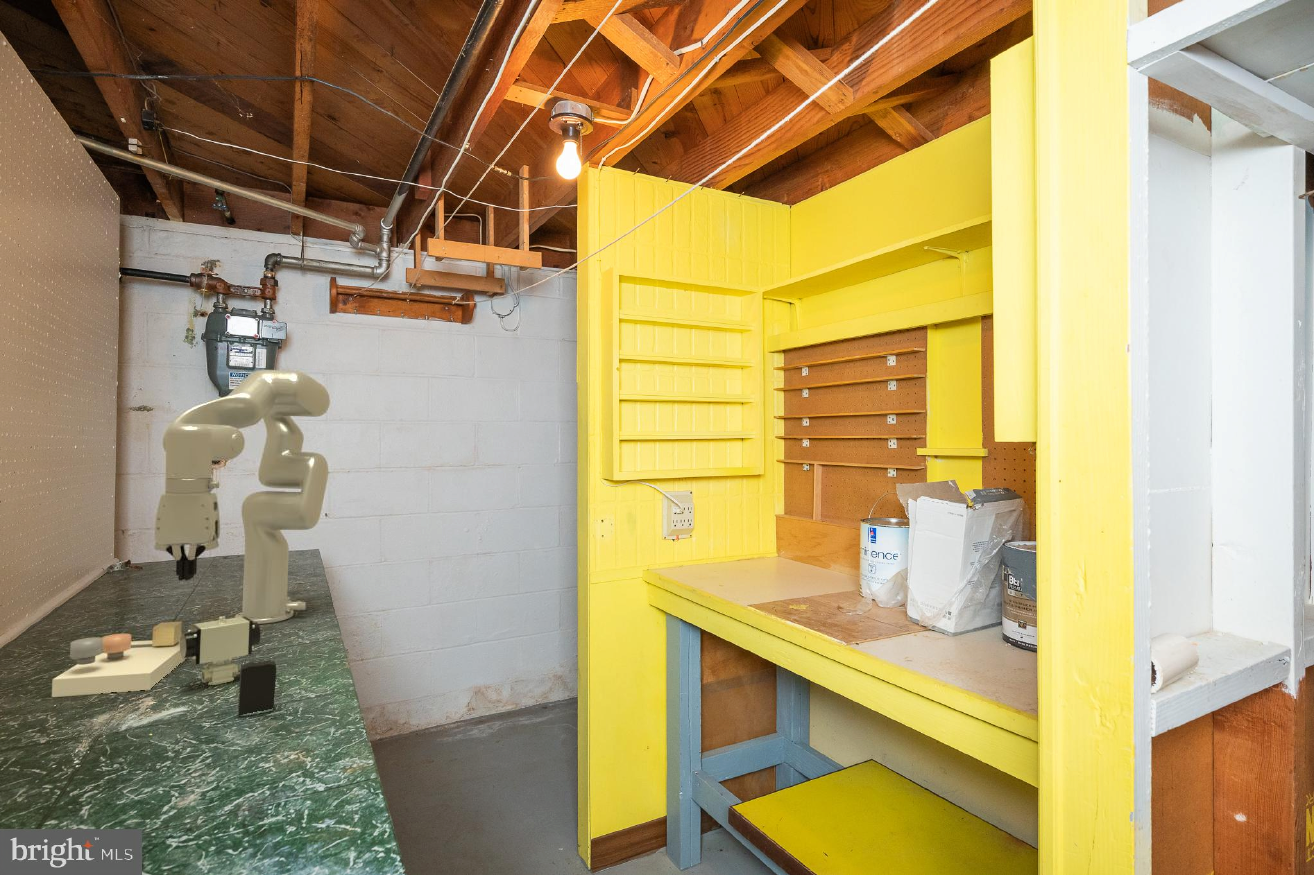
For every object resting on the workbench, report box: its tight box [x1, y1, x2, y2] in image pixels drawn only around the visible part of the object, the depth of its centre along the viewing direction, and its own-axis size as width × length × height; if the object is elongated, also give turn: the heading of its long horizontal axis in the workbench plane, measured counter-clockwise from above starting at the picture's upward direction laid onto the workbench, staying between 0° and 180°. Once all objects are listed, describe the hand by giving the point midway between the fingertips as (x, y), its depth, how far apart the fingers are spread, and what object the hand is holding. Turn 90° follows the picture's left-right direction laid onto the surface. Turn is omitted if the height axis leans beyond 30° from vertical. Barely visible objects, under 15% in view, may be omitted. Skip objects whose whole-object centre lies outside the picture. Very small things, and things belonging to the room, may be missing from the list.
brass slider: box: [152, 621, 183, 646], centre depth 133 cm, size 4×4×4 cm
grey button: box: [69, 636, 103, 665], centre depth 118 cm, size 4×4×4 cm
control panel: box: [51, 639, 188, 698], centre depth 125 cm, size 14×22×3 cm, turn 18°
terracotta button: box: [101, 633, 132, 659], centre depth 124 cm, size 4×4×4 cm
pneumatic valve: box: [180, 615, 262, 686], centre depth 122 cm, size 6×12×12 cm, turn 138°
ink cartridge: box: [237, 659, 277, 716], centre depth 109 cm, size 5×2×8 cm, turn 125°
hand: (186, 578), depth 133 cm, fingers closed
